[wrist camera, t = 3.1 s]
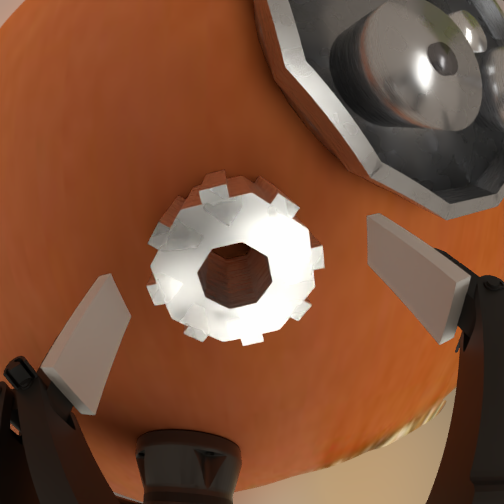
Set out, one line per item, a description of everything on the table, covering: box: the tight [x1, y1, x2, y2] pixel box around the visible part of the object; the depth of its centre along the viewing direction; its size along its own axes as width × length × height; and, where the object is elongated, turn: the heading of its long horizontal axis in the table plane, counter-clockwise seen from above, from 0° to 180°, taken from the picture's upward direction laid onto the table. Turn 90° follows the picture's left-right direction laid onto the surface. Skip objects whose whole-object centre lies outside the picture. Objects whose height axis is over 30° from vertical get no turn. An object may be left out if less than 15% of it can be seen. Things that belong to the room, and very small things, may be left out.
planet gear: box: [146, 170, 325, 346], centre depth 16 cm, size 9×9×6 cm
